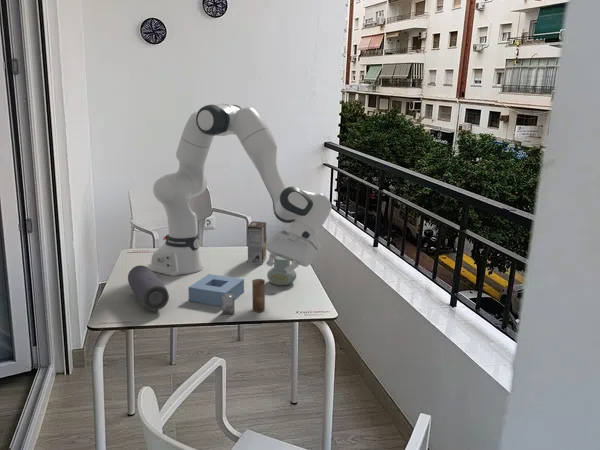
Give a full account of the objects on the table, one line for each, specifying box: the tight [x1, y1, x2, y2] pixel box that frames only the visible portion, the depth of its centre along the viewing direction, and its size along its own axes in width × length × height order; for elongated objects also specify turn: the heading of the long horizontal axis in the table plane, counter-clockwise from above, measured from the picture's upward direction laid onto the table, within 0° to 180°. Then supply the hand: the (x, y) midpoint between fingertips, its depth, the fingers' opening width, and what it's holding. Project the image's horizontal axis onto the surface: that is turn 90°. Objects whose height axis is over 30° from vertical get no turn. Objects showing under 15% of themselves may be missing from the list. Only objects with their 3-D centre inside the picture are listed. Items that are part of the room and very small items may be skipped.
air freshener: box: [266, 256, 297, 287], centre depth 192 cm, size 11×8×10 cm
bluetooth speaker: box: [127, 265, 170, 311], centre depth 173 cm, size 23×9×10 cm, turn 30°
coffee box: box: [247, 221, 267, 266], centre depth 216 cm, size 9×6×16 cm
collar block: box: [187, 273, 245, 307], centre depth 179 cm, size 14×14×5 cm
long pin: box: [251, 278, 266, 313], centre depth 168 cm, size 4×4×10 cm
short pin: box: [221, 293, 236, 316], centre depth 165 cm, size 4×4×6 cm
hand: (277, 268), depth 171 cm, fingers open, 8 cm apart
